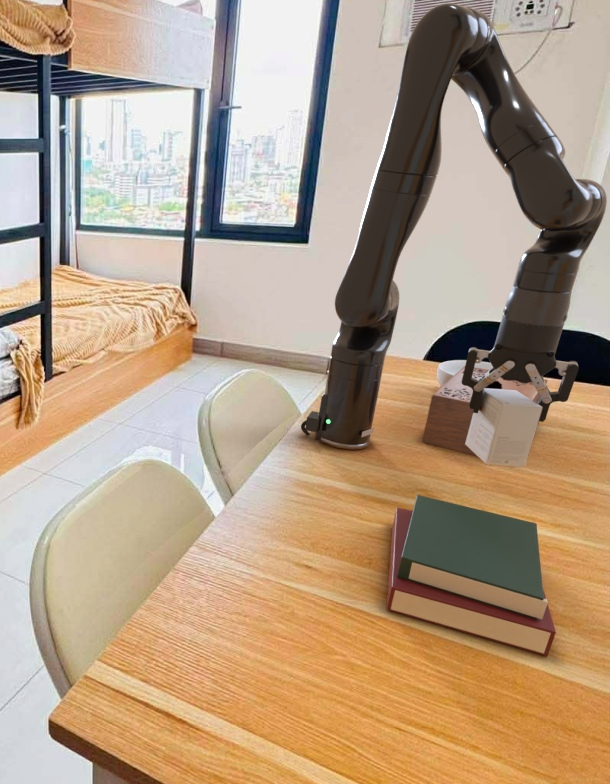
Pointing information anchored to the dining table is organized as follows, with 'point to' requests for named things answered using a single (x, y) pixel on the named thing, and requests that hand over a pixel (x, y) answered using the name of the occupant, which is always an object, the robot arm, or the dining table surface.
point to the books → (470, 573)
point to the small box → (503, 427)
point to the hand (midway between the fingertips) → (504, 417)
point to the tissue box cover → (462, 409)
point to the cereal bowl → (455, 369)
